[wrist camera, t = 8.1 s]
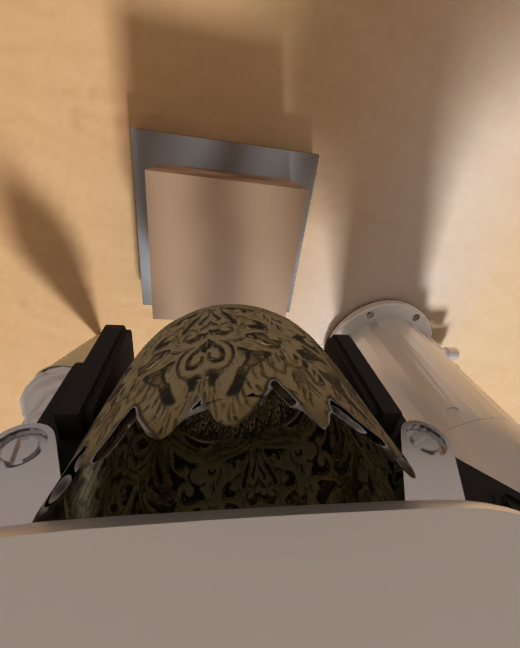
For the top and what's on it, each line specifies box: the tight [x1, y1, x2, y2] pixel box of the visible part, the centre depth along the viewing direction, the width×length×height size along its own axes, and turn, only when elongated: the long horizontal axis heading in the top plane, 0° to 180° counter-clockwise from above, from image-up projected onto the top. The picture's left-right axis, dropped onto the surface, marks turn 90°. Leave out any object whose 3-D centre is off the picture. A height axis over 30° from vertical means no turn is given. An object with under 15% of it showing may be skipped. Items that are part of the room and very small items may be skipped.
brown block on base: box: [130, 128, 319, 320], centre depth 25 cm, size 14×14×8 cm
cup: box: [32, 304, 416, 523], centre depth 10 cm, size 8×7×8 cm
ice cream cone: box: [20, 334, 100, 425], centre depth 26 cm, size 5×5×15 cm
